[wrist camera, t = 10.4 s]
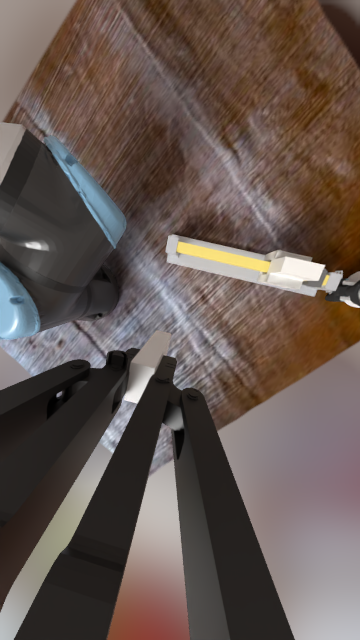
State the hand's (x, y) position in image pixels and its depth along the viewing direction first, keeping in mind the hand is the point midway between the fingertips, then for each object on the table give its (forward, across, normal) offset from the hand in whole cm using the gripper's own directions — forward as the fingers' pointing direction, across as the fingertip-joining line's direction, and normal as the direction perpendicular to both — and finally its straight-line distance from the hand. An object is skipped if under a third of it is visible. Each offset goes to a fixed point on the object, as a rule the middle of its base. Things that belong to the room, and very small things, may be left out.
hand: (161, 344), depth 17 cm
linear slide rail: (+26, +11, +12) cm, 31 cm away
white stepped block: (+24, +17, +12) cm, 32 cm away
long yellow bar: (+22, +12, +12) cm, 28 cm away
